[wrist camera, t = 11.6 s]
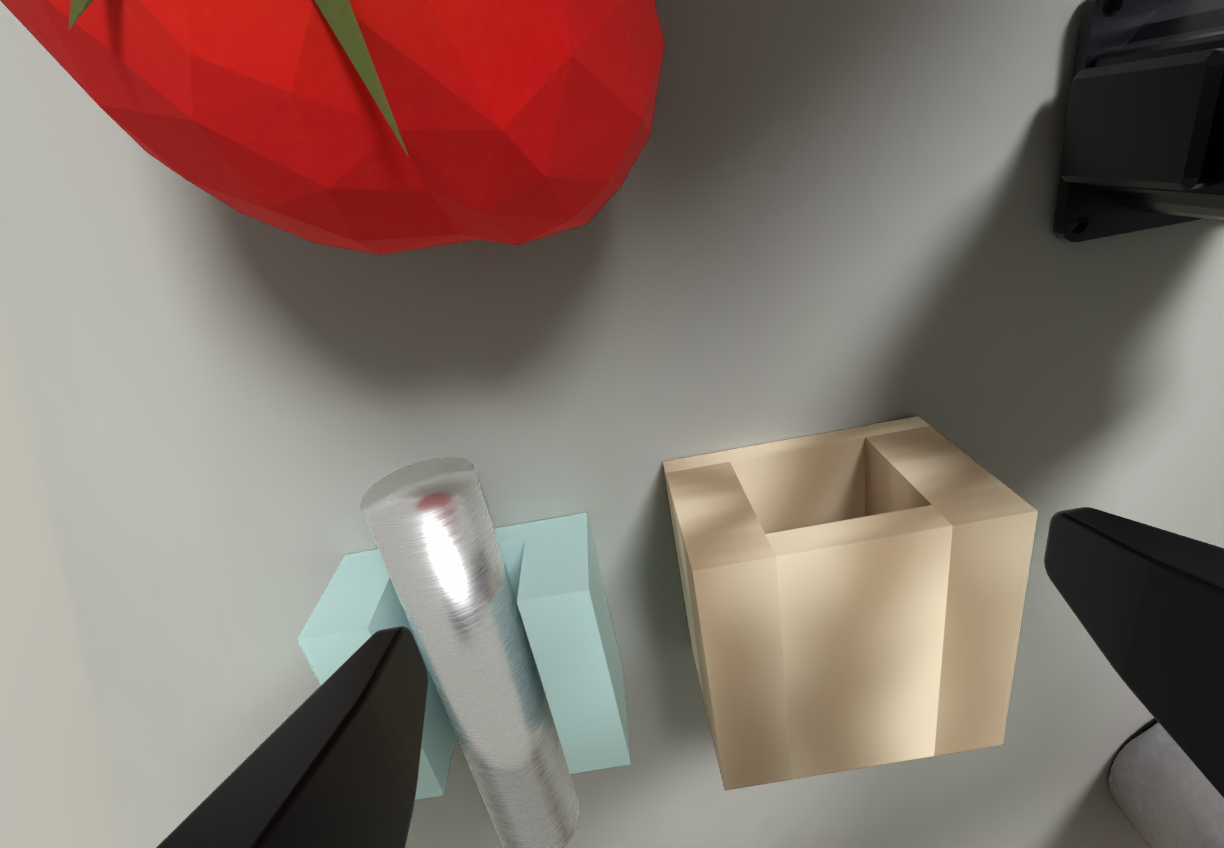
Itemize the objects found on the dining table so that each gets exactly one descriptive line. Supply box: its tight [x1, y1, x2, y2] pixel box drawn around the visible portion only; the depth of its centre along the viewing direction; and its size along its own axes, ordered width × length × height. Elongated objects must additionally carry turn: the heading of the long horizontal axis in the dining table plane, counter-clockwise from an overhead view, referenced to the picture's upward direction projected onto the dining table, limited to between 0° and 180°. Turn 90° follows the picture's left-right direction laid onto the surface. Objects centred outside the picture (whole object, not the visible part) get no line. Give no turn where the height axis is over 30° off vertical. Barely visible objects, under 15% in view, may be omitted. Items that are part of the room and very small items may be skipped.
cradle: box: [297, 512, 631, 800], centre depth 22 cm, size 9×8×4 cm
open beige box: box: [663, 416, 1038, 790], centre depth 20 cm, size 9×9×6 cm
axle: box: [361, 458, 580, 848], centre depth 21 cm, size 16×3×3 cm, turn 10°
